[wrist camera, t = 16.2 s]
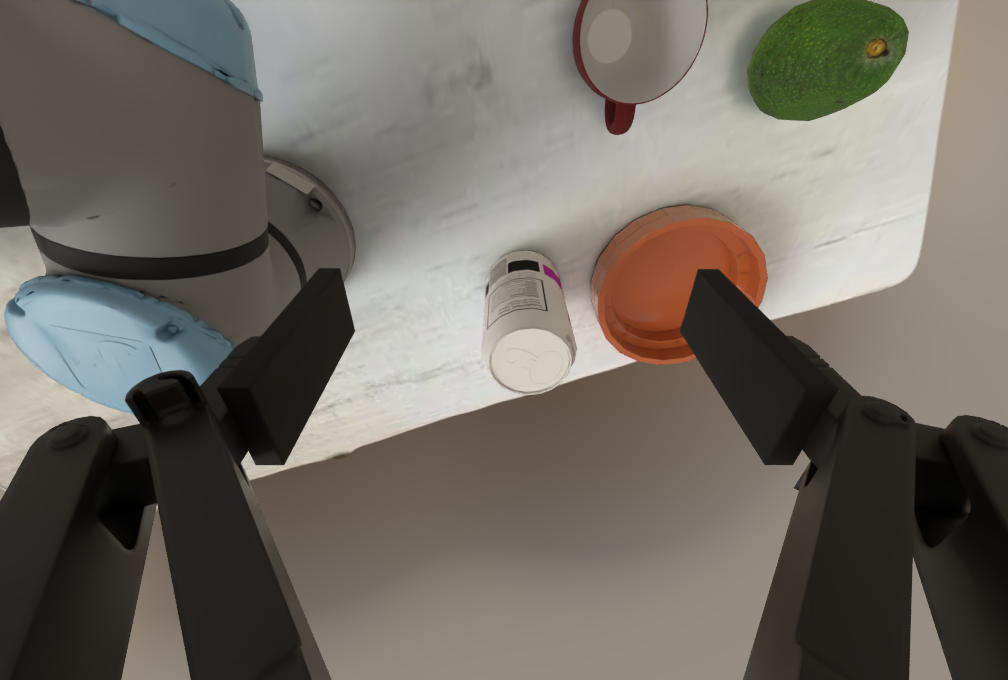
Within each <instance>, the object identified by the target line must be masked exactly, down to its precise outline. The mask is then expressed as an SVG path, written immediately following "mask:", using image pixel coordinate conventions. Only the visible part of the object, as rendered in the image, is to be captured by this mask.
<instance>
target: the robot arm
mask: <svg viewBox="0 0 1008 680" xmlns="http://www.w3.org/2000/svg"><path fill="white" fill-rule="evenodd" d="M260 101H263V96H262V94H261V91H260V90H259V89H258V86H257V77H256V69H255V61H254V53H253V44H252V37H251V32H250V29H249V26H248V24H247V22H246V20H245V18H244V16H243V15H242V13H241V12H240V10H239V9H238V8H237V7H236V6H235V4H234V3H233V2H231V1H230V0H0V228H3V227H15V226H27V225H29V226H30V229H31V231H32V234H33V236H34V238H35V241H36V243H37V246H38V249H39V251H40V254H41V256H42V259H43V261H44V264H45V266H46V275H45V276H38V277H35V278H33V279H31V280H29V281H26V282H24V283H23V284H22V285H21V287H20V289H19V291H18V292H17V293H16V294H15V297H14V298H13V299H12V300H10V301H9V302H8V304H7V305H6V309H5V313H4V317H5V322H6V327H7V330H8V332H9V334H10V336H11V338H12V340H13V341H14V343H15V345H16V346H17V347H18V348H19V350H20V351H21V352H22V353H23V354H24V355H25V357H26V358H27V359H28V360H29V361H30V362H32V363H33V364H34V365H35V366H36V367H37V368H39V369H40V370H41V371H42V372H44V373H45V374H46V375H48V376H49V377H50V378H52V379H53V380H55V381H56V382H58V383H60V384H61V385H63V386H64V387H66V388H68V389H70V390H72V391H74V392H76V393H78V394H80V395H82V396H84V397H86V398H88V399H90V400H92V401H94V402H97V403H99V404H102V405H104V406H107V407H110V408H113V409H116V410H120V411H123V412H127V413H131V414H134V415H135V417H136V418H137V419H138V421H139V422H140V424H137V425H132V426H127V427H122V428H117V429H113V430H112V429H111V428H110V427H109V425H108V424H107V423H106V421H105V420H103V419H102V418H101V417H94V416H88V417H82V418H77V419H74V420H71V421H67V422H64V423H62V424H59V425H58V426H55V427H53V428H52V429H50V430H49V431H47V432H46V433H45V434H43V435H42V436H40V437H39V438H38V439H37V440H36V441H35V442H34V443H33V445H32V446H31V447H30V449H29V450H28V452H27V454H26V456H25V458H24V459H23V461H22V463H21V465H20V467H19V468H18V470H17V472H16V474H15V476H14V477H13V479H12V481H11V483H10V485H9V487H8V488H7V490H6V492H5V494H4V496H3V497H2V499H1V501H0V680H121V678H122V673H123V668H124V663H125V658H126V653H127V648H128V643H129V638H130V633H131V628H132V624H133V618H134V614H135V609H136V604H137V599H138V594H139V589H140V584H141V579H142V574H143V570H144V564H145V559H146V555H147V550H148V545H149V540H150V535H151V530H152V525H153V520H154V515H155V511H156V506H157V504H158V510H159V515H160V520H161V525H162V531H163V536H164V541H165V546H166V552H167V557H168V562H169V567H170V572H171V578H172V583H173V588H174V593H175V599H176V604H177V609H178V614H179V620H180V625H181V630H182V635H183V640H184V646H185V651H186V656H187V662H188V666H189V672H190V677H191V680H331V677H330V675H329V672H328V670H327V668H326V665H325V663H324V660H323V658H322V656H321V653H320V651H319V648H318V646H317V644H316V641H315V639H314V636H313V634H312V632H311V629H310V627H309V624H308V622H307V619H306V617H305V615H304V612H303V610H302V607H301V605H300V602H299V600H298V598H297V595H296V593H295V591H294V588H293V586H292V583H291V581H290V578H289V576H288V574H287V571H286V569H285V567H284V564H283V561H282V559H281V557H280V554H279V552H278V549H277V547H276V545H275V542H274V540H273V537H272V535H271V533H270V530H269V528H268V525H267V523H266V521H265V518H264V516H263V513H262V511H261V509H260V506H259V504H258V501H257V499H256V496H255V494H254V492H253V489H252V487H251V484H250V482H249V479H248V477H247V475H246V472H245V470H244V468H243V466H242V464H241V461H242V460H243V458H244V457H245V455H246V454H247V452H248V451H249V453H250V455H251V457H252V458H253V460H254V462H255V464H256V465H284V464H285V462H286V461H287V459H288V457H289V455H290V453H291V451H292V449H293V447H294V445H295V444H296V442H297V440H298V438H299V436H300V434H301V432H302V430H303V428H304V427H305V425H306V423H307V421H308V419H309V417H310V415H311V413H312V411H313V410H314V408H315V406H316V404H317V402H318V400H319V398H320V396H321V394H322V393H323V391H324V389H325V387H326V385H327V383H328V381H329V379H330V377H331V376H332V374H333V372H334V370H335V368H336V366H337V364H338V362H339V360H340V359H341V357H342V355H343V353H344V351H345V349H346V347H347V345H348V343H349V342H350V340H351V338H352V336H353V334H354V332H355V329H354V325H353V320H352V316H351V312H350V308H349V304H348V299H347V295H346V291H345V287H344V282H343V281H344V280H345V279H346V277H347V276H348V274H349V272H350V270H351V268H352V265H353V262H354V257H355V239H354V233H353V230H352V226H351V223H350V221H349V218H348V216H347V214H346V212H345V210H344V209H343V207H342V205H341V204H340V203H339V201H338V200H337V198H336V197H335V196H334V195H333V194H332V192H331V191H330V190H329V189H328V188H327V187H326V186H325V185H324V184H323V183H321V182H320V181H319V180H318V179H317V178H315V177H314V176H313V175H311V174H310V173H308V172H306V171H305V170H303V169H301V168H299V167H297V166H296V165H293V164H291V163H288V162H286V161H283V160H280V159H275V158H271V157H264V155H263V140H262V125H261V110H260ZM680 333H681V334H682V336H683V338H684V339H685V341H686V342H687V344H688V345H689V347H690V349H691V350H692V352H693V353H694V355H695V356H696V358H697V359H698V361H699V363H700V364H701V366H702V367H703V369H704V370H705V372H706V374H707V375H708V377H709V378H710V380H711V381H712V383H713V385H714V386H715V388H716V389H717V391H718V392H719V394H720V396H721V397H722V399H723V400H724V402H725V403H726V405H727V406H728V408H729V410H730V411H731V413H732V414H733V416H734V417H735V419H736V420H737V422H738V424H739V425H740V427H741V428H742V430H743V432H744V433H745V435H746V436H747V437H748V439H749V441H750V442H751V444H752V445H753V447H754V449H755V450H756V452H757V453H758V455H759V456H760V458H761V459H762V461H763V463H764V464H765V465H793V464H794V462H795V460H796V459H797V457H798V455H799V454H800V452H801V450H803V451H804V452H805V454H806V455H807V456H808V457H809V459H810V460H811V462H810V463H809V465H808V466H807V468H806V470H805V471H804V473H803V474H802V476H801V477H800V479H799V481H798V482H797V484H796V485H795V487H794V488H795V489H797V490H799V493H798V496H797V500H796V503H795V507H794V509H793V513H792V516H791V520H790V523H789V526H788V530H787V533H786V537H785V540H784V543H783V547H782V550H781V553H780V557H779V560H778V564H777V567H776V571H775V574H774V577H773V581H772V584H771V587H770V590H769V594H768V597H767V601H766V604H765V607H764V611H763V614H762V617H761V621H760V624H759V628H758V631H757V635H756V638H755V641H754V645H753V648H752V651H751V655H750V658H749V662H748V665H747V668H746V672H745V675H744V678H743V680H909V662H910V660H909V659H910V628H911V626H910V625H911V596H912V595H911V594H912V563H913V558H914V561H915V564H916V567H917V570H918V573H919V576H920V579H921V583H922V586H923V589H924V592H925V595H926V598H927V601H928V604H929V608H930V611H931V614H932V617H933V620H934V623H935V627H936V630H937V633H938V636H939V639H940V642H941V645H942V649H943V652H944V655H945V658H946V661H947V664H948V667H949V671H950V673H951V677H952V680H1008V428H1007V427H1005V426H1004V425H1000V424H999V423H997V422H994V421H990V420H987V419H983V418H980V417H975V416H969V415H964V416H957V417H956V418H955V419H954V420H953V421H952V422H951V423H950V424H949V425H948V426H947V428H946V429H942V428H938V427H932V426H928V425H923V424H918V423H915V421H914V419H913V418H912V417H911V416H910V415H909V414H908V413H907V412H905V411H904V410H902V409H901V408H899V407H898V406H896V405H894V404H892V403H890V402H887V401H885V400H882V399H879V398H875V397H871V396H861V395H860V394H859V393H858V392H857V391H856V390H855V389H854V388H853V387H852V386H851V385H850V384H848V383H847V382H846V381H845V380H844V379H843V378H842V377H841V376H840V375H839V374H838V373H837V372H836V371H835V370H834V369H833V368H830V367H829V364H828V363H826V362H825V361H824V360H823V359H820V356H819V355H818V354H817V353H816V352H815V351H814V350H813V349H812V348H811V347H810V346H809V345H807V344H805V343H803V342H802V341H800V340H798V339H796V338H795V337H793V336H786V335H784V333H783V332H781V331H780V330H779V329H778V328H777V327H776V326H775V325H774V324H773V323H772V322H771V321H770V320H769V319H768V318H767V317H766V316H765V315H764V314H763V313H762V312H761V311H760V310H759V309H758V308H757V307H756V306H755V305H754V304H753V303H752V302H751V301H750V300H749V299H748V298H747V297H746V296H745V295H744V294H743V293H742V292H741V291H740V290H739V289H738V288H737V287H736V286H735V285H734V284H733V283H732V282H731V281H730V280H729V279H728V278H727V277H726V276H725V275H724V274H723V273H722V272H721V271H720V270H719V269H698V271H697V274H696V277H695V281H694V284H693V288H692V291H691V295H690V298H689V301H688V305H687V308H686V312H685V315H684V319H683V322H682V326H681V329H680Z"/></svg>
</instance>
